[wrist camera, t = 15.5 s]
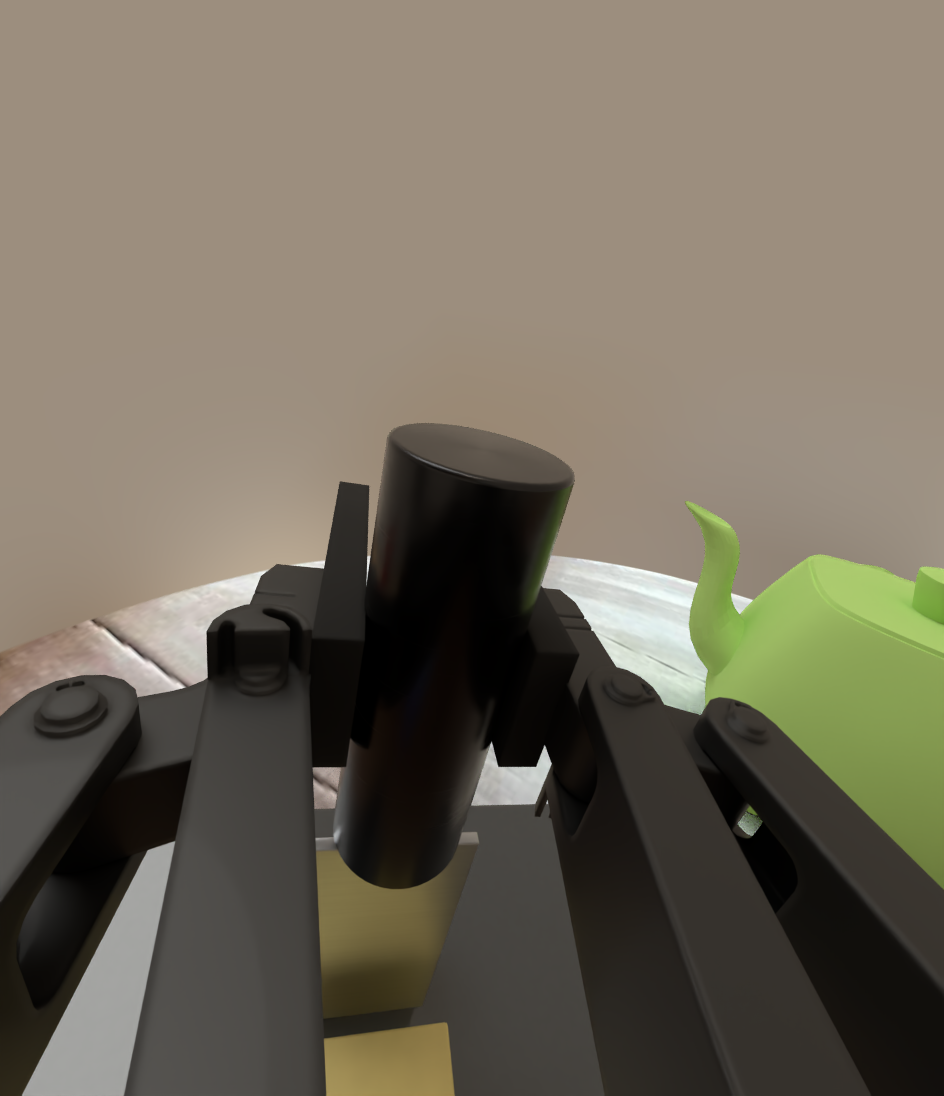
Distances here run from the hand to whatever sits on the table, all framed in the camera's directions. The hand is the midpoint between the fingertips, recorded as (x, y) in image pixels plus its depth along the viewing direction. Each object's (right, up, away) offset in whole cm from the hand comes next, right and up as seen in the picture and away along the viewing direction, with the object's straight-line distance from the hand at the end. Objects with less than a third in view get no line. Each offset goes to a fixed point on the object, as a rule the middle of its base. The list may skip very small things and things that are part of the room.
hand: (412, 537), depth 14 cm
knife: (-2, -14, +1) cm, 14 cm away
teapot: (+24, -15, +21) cm, 35 cm away
